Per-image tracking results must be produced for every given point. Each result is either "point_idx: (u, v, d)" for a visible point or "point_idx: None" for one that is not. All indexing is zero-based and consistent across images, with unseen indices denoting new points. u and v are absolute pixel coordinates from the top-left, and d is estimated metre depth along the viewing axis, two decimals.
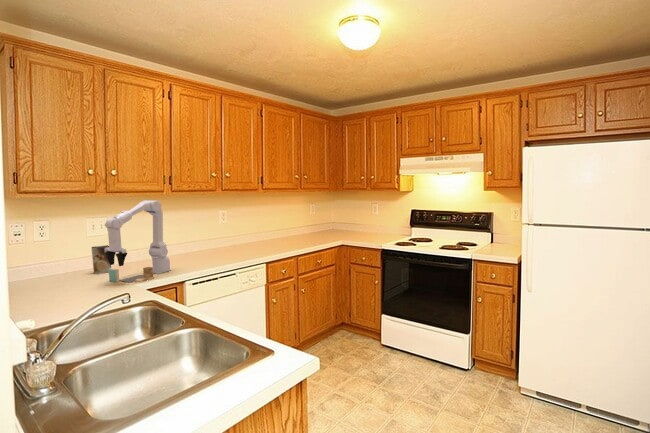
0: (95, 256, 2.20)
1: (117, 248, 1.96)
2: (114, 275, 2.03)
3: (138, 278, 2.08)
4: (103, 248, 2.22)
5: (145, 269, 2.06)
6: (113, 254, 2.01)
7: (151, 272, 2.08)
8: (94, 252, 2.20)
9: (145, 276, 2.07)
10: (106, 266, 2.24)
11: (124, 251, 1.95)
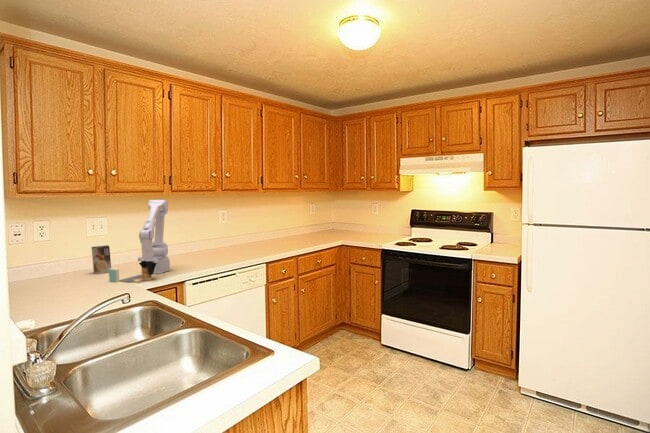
0: (95, 256, 2.20)
1: (150, 258, 2.06)
2: (114, 275, 2.03)
3: (138, 278, 2.08)
4: (103, 248, 2.22)
5: (143, 269, 2.05)
6: (147, 264, 2.10)
7: None
8: (94, 252, 2.20)
9: (143, 276, 2.06)
10: (106, 266, 2.24)
11: (157, 261, 2.04)
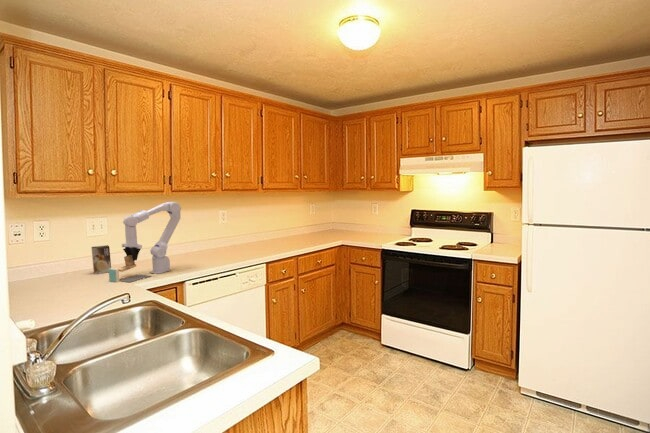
0: (95, 256, 2.20)
1: (133, 244, 2.11)
2: (114, 275, 2.03)
3: (138, 278, 2.08)
4: (103, 248, 2.22)
5: (126, 258, 2.10)
6: (131, 250, 2.15)
7: (132, 260, 2.12)
8: (94, 252, 2.20)
9: (127, 264, 2.11)
10: (106, 266, 2.24)
11: (140, 247, 2.10)
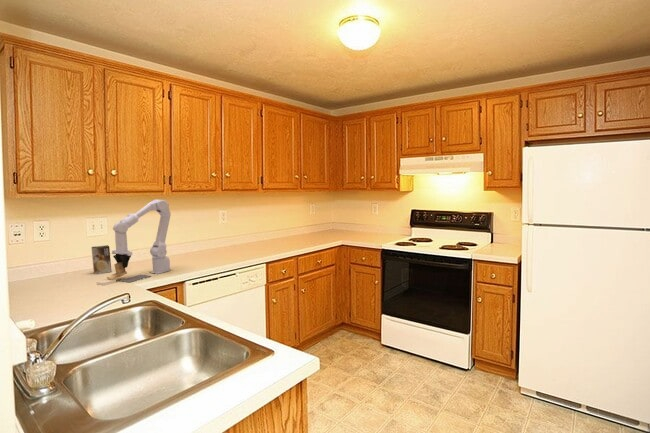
0: (95, 256, 2.20)
1: (124, 251, 2.06)
2: None
3: (138, 278, 2.08)
4: (103, 248, 2.22)
5: (116, 265, 2.05)
6: None
7: None
8: (94, 252, 2.20)
9: (117, 272, 2.06)
10: (106, 266, 2.24)
11: (130, 254, 2.05)
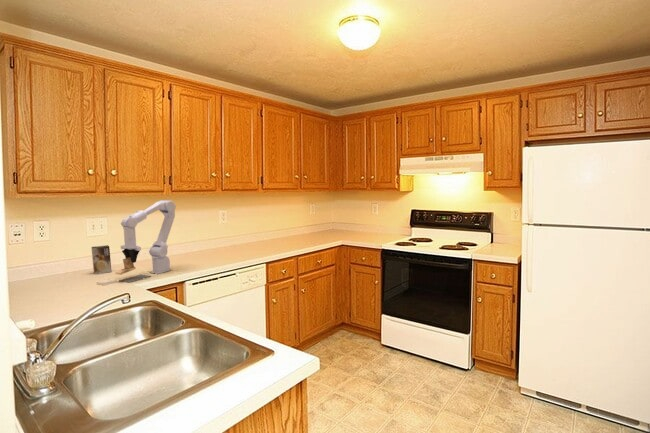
0: (95, 256, 2.20)
1: (132, 246, 2.06)
2: None
3: (138, 278, 2.08)
4: (103, 248, 2.22)
5: (125, 260, 2.05)
6: None
7: (131, 263, 2.07)
8: (94, 252, 2.20)
9: (126, 267, 2.07)
10: (106, 266, 2.24)
11: (139, 249, 2.05)
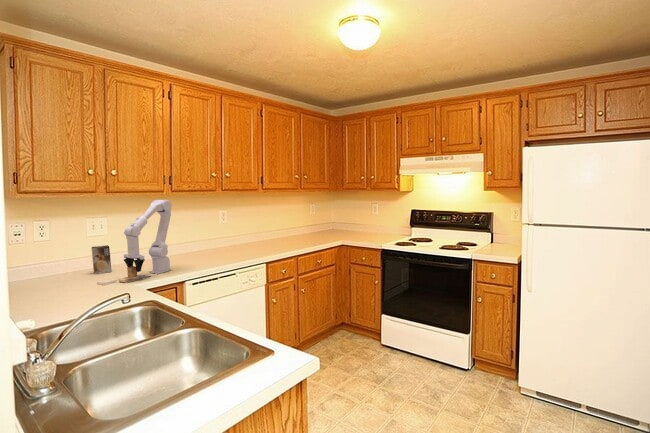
0: (95, 256, 2.20)
1: (136, 255, 2.06)
2: None
3: (138, 278, 2.08)
4: (103, 248, 2.22)
5: (129, 269, 2.05)
6: (131, 261, 2.11)
7: (135, 272, 2.07)
8: (94, 252, 2.20)
9: (129, 276, 2.06)
10: (106, 266, 2.24)
11: (142, 258, 2.05)
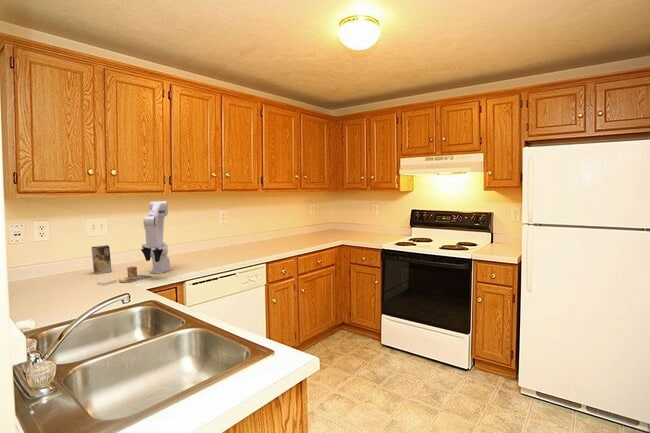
0: (95, 256, 2.20)
1: (154, 245, 2.06)
2: None
3: (138, 278, 2.08)
4: (103, 248, 2.22)
5: (129, 269, 2.05)
6: (149, 251, 2.11)
7: (135, 272, 2.07)
8: (94, 252, 2.20)
9: (129, 276, 2.06)
10: (106, 266, 2.24)
11: (160, 248, 2.05)
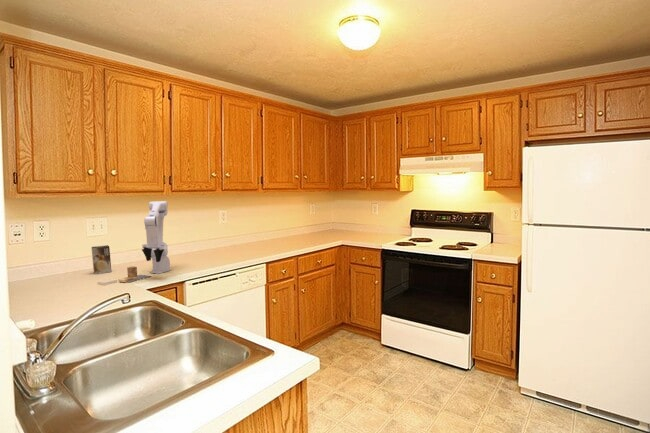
0: (95, 256, 2.20)
1: (155, 245, 2.06)
2: None
3: (138, 278, 2.08)
4: (103, 248, 2.22)
5: (129, 269, 2.05)
6: (149, 251, 2.11)
7: (135, 272, 2.07)
8: (94, 252, 2.20)
9: (129, 276, 2.06)
10: (106, 266, 2.24)
11: (161, 248, 2.05)
